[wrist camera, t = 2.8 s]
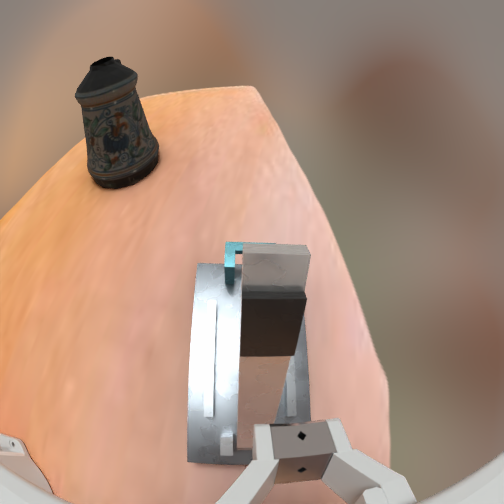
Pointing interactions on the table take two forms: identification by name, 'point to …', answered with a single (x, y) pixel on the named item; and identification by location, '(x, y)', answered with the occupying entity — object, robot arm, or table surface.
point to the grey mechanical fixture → (229, 367)
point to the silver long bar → (267, 329)
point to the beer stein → (115, 126)
